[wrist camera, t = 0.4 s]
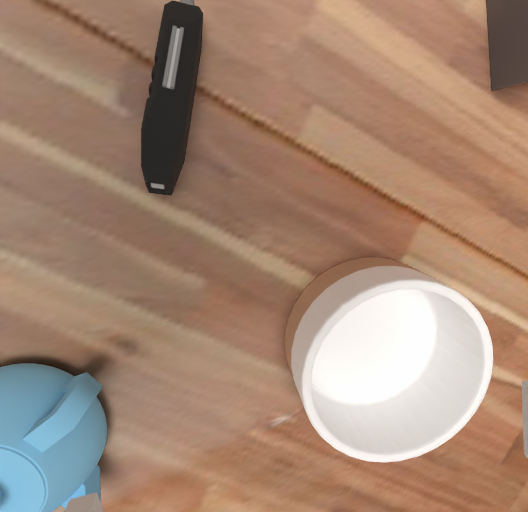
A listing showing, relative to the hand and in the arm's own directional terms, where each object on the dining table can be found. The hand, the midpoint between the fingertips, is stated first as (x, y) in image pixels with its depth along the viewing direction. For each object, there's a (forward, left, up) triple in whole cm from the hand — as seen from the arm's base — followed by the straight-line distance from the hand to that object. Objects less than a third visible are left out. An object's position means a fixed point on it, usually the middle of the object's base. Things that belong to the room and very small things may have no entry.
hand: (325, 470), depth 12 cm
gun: (-15, -3, -27) cm, 31 cm away
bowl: (+11, +10, -27) cm, 31 cm away
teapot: (+11, -24, -27) cm, 38 cm away
